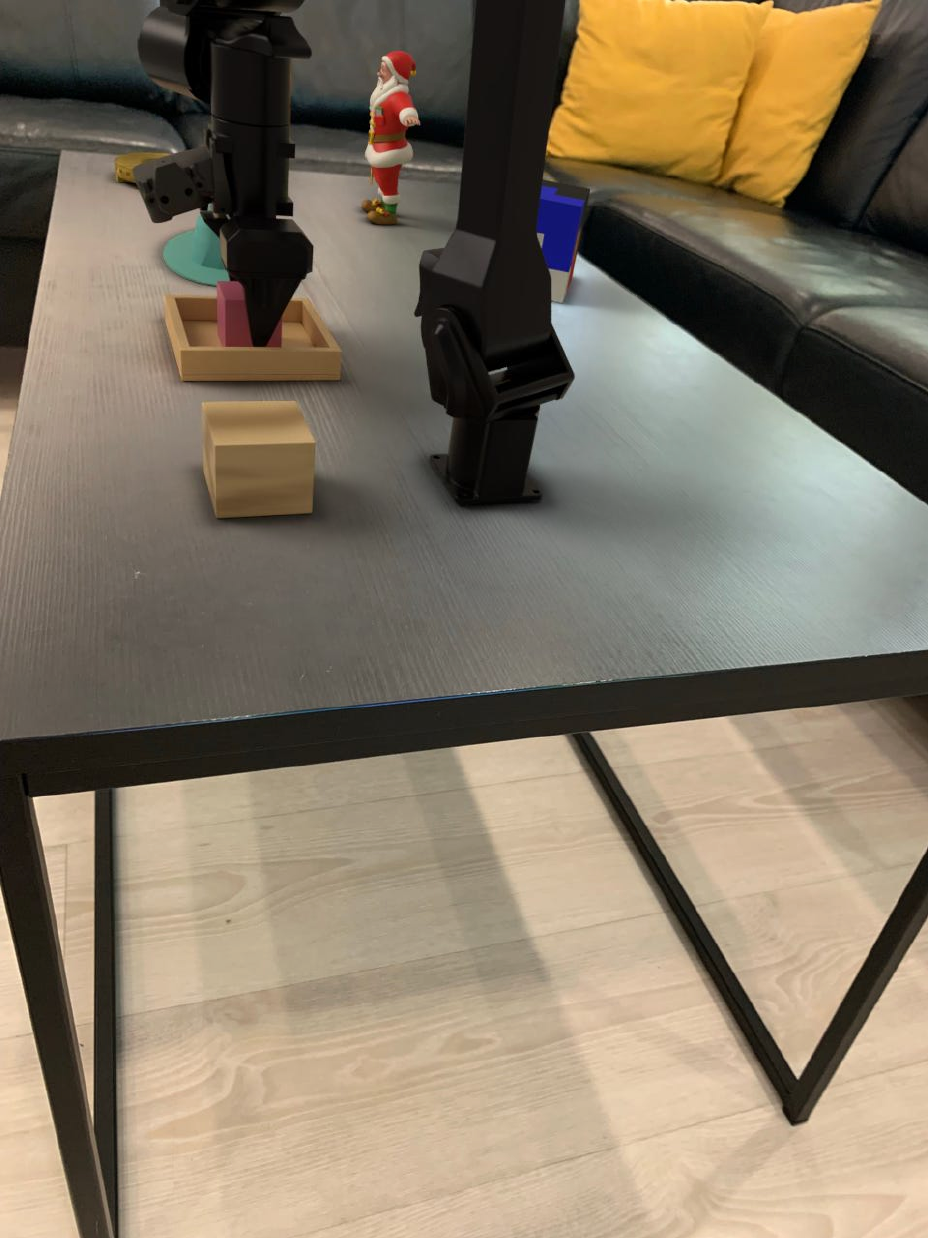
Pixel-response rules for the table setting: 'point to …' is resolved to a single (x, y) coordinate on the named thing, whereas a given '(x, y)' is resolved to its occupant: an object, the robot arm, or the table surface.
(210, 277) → the teal cone with brim
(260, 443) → the base block
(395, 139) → the santa figurine
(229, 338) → the rose block
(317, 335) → the tray
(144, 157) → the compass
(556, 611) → the table surface
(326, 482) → the table surface
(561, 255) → the puzzle toy
